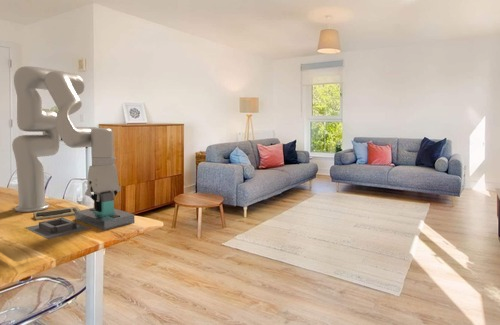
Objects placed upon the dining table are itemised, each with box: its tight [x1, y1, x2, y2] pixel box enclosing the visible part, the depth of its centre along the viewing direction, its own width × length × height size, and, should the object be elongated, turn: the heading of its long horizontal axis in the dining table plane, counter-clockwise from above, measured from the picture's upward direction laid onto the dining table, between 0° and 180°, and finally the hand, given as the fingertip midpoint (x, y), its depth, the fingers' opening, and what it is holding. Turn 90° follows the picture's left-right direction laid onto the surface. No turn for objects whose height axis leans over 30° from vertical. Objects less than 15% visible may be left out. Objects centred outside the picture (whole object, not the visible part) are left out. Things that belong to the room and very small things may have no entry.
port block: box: [74, 207, 135, 231], centre depth 127 cm, size 20×12×4 cm, turn 54°
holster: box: [24, 217, 92, 240], centre depth 117 cm, size 18×14×3 cm
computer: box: [33, 206, 80, 221], centre depth 133 cm, size 16×8×3 cm, turn 128°
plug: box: [95, 192, 115, 216], centre depth 127 cm, size 6×4×10 cm, turn 54°
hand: (104, 209), depth 127 cm, fingers closed on plug, 4 cm apart
